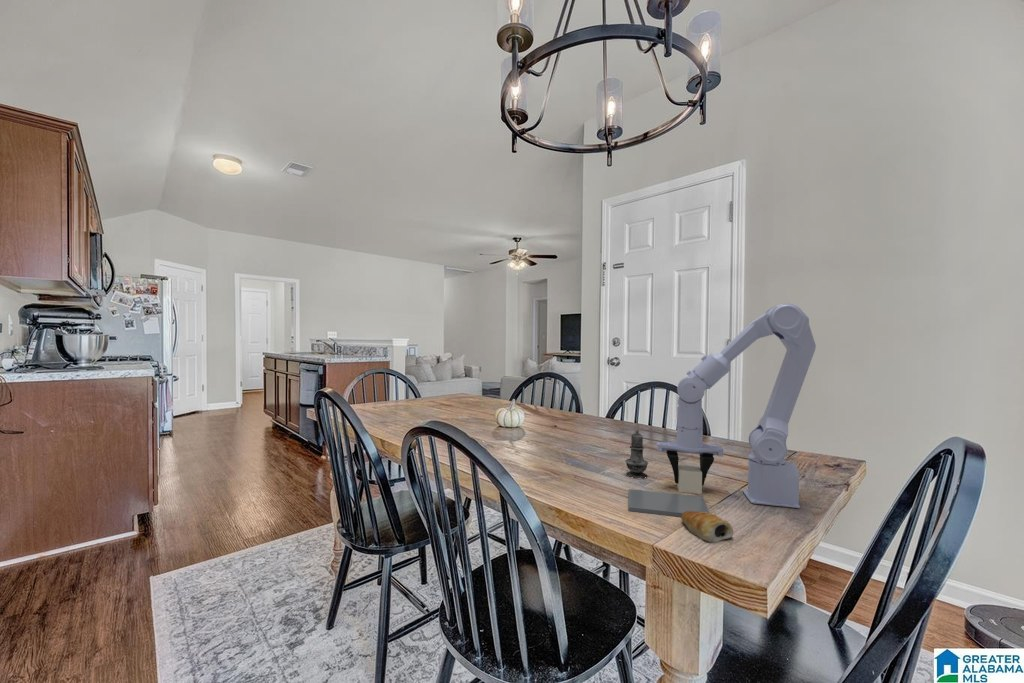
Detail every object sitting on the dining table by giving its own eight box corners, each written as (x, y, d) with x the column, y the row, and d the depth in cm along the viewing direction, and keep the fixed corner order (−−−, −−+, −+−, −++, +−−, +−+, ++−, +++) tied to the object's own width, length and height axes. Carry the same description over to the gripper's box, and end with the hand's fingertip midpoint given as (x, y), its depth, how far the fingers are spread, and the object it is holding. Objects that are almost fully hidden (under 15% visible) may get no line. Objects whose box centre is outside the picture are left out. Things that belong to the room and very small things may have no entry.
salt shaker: (649, 479, 109) (650, 433, 109) (625, 478, 110) (626, 431, 110) (646, 472, 115) (647, 428, 114) (624, 471, 116) (624, 427, 116)
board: (702, 499, 96) (702, 496, 96) (711, 520, 85) (711, 516, 85) (628, 492, 100) (628, 489, 100) (628, 510, 89) (628, 507, 89)
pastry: (672, 523, 84) (672, 504, 84) (699, 519, 86) (699, 500, 86) (708, 545, 75) (709, 524, 75) (737, 540, 77) (738, 519, 77)
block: (698, 486, 104) (698, 466, 104) (701, 494, 99) (702, 472, 99) (676, 484, 105) (676, 464, 105) (678, 491, 101) (679, 470, 101)
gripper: (719, 425, 104) (718, 480, 104) (656, 421, 108) (656, 475, 108) (725, 431, 97) (724, 490, 97) (658, 427, 101) (658, 484, 101)
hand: (688, 483), depth 102 cm, fingers closed on block, 5 cm apart
